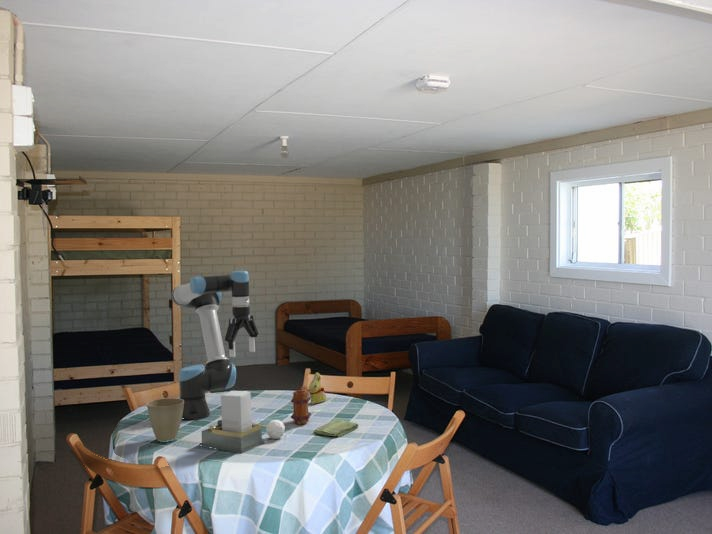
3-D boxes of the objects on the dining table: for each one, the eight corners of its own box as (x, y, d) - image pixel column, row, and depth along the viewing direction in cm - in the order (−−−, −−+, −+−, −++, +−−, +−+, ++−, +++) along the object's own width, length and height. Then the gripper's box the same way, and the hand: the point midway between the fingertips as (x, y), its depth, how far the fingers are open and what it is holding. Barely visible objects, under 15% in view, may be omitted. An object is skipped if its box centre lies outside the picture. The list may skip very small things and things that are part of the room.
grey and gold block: (199, 446, 273) (198, 426, 272) (223, 436, 285) (222, 417, 285) (241, 453, 262) (241, 432, 262) (264, 443, 275) (264, 423, 274)
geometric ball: (274, 443, 283) (277, 425, 288) (287, 439, 278) (290, 421, 283) (260, 437, 279) (263, 419, 283) (273, 433, 274) (276, 415, 278)
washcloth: (311, 435, 286) (311, 427, 286) (336, 424, 300) (336, 417, 300) (336, 439, 278) (336, 431, 278) (361, 429, 293) (360, 421, 293)
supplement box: (252, 428, 275) (251, 391, 274) (241, 434, 266) (240, 396, 266) (233, 426, 278) (231, 389, 277) (221, 432, 269) (220, 395, 269)
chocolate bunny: (305, 404, 337) (305, 374, 337) (321, 399, 346) (320, 370, 345) (315, 406, 333) (314, 375, 332) (331, 401, 341) (330, 371, 340)
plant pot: (165, 447, 272) (164, 408, 271) (140, 442, 280) (138, 404, 279) (193, 437, 285) (191, 400, 284) (168, 433, 293) (166, 396, 292)
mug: (307, 426, 298) (306, 392, 297) (289, 425, 299) (288, 391, 298) (315, 417, 312) (314, 384, 311) (298, 416, 314) (297, 384, 313)
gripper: (229, 309, 286) (230, 359, 287) (265, 303, 308) (266, 350, 309) (215, 308, 290) (217, 358, 291) (251, 303, 312) (253, 349, 313)
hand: (242, 354), depth 300 cm, fingers open, 13 cm apart
